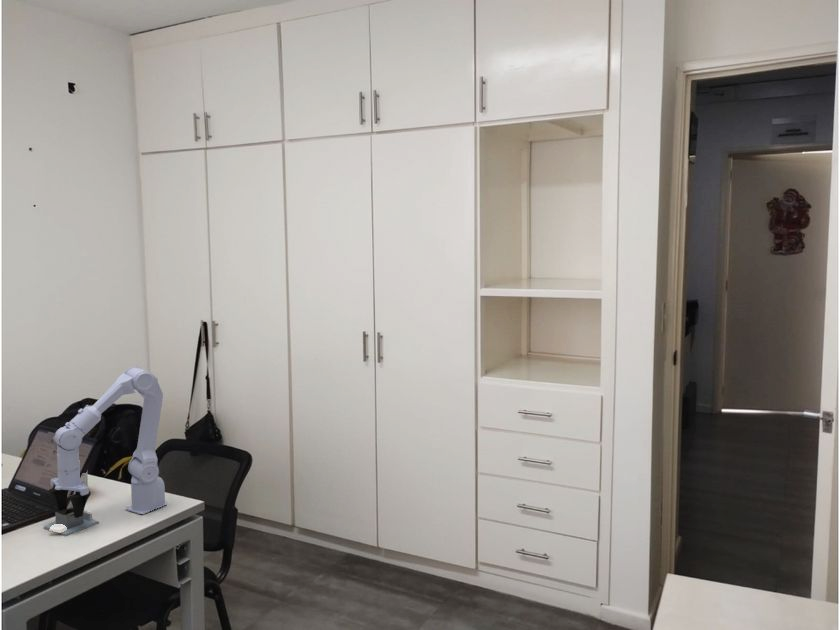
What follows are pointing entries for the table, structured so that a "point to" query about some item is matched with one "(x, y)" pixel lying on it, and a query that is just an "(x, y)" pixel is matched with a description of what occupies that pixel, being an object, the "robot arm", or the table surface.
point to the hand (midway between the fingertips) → (70, 513)
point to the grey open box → (68, 518)
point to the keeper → (87, 523)
